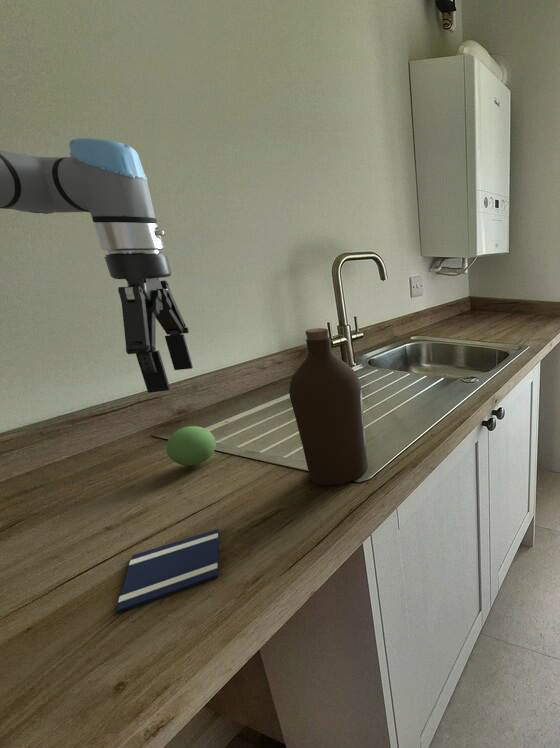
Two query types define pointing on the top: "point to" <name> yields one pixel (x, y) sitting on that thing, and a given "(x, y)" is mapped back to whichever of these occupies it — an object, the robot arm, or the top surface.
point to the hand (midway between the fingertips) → (172, 379)
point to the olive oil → (329, 413)
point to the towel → (170, 569)
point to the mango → (191, 445)
